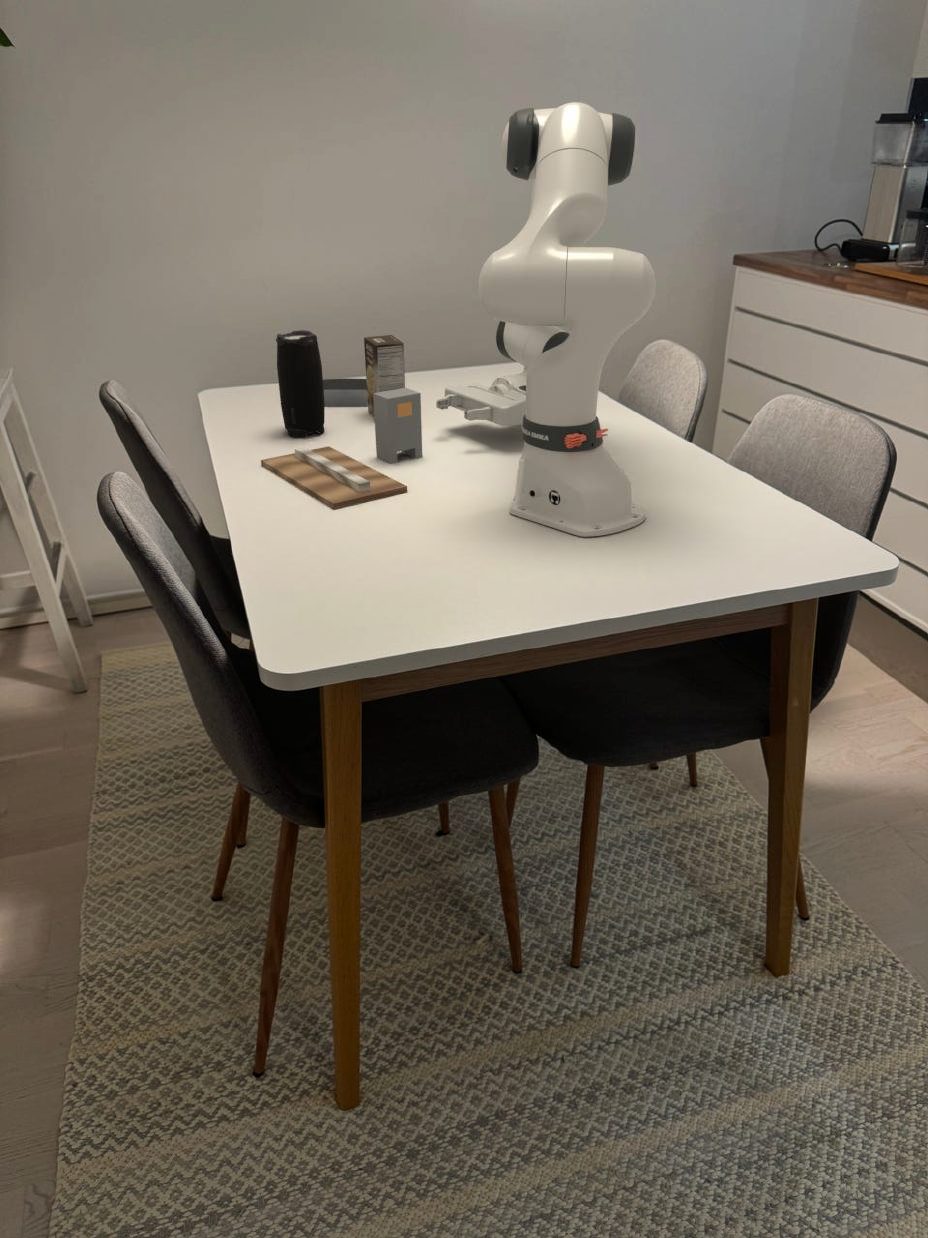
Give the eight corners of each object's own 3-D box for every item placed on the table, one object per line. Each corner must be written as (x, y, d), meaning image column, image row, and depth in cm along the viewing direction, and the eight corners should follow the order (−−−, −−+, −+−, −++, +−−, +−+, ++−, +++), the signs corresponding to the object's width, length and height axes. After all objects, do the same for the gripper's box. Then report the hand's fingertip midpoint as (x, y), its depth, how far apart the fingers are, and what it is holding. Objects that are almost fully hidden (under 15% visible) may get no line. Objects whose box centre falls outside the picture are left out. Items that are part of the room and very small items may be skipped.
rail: (407, 491, 156) (406, 477, 154) (334, 509, 148) (332, 494, 147) (329, 451, 176) (328, 438, 175) (261, 465, 169) (259, 452, 167)
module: (422, 456, 172) (420, 392, 167) (390, 463, 169) (387, 398, 163) (408, 450, 176) (405, 387, 170) (376, 457, 172) (373, 393, 167)
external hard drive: (386, 409, 204) (385, 391, 202) (299, 409, 205) (298, 390, 203) (392, 394, 216) (391, 377, 214) (310, 394, 216) (308, 377, 215)
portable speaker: (306, 424, 192) (298, 327, 183) (336, 432, 187) (329, 333, 178) (273, 432, 187) (263, 333, 178) (303, 441, 181) (294, 340, 172)
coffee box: (366, 412, 201) (362, 336, 193) (394, 409, 203) (391, 334, 195) (379, 422, 193) (375, 344, 186) (408, 419, 195) (405, 342, 188)
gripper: (478, 372, 189) (422, 382, 182) (542, 393, 174) (483, 404, 167) (478, 403, 192) (422, 414, 185) (541, 425, 177) (483, 438, 170)
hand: (452, 410), depth 176 cm, fingers open, 8 cm apart
